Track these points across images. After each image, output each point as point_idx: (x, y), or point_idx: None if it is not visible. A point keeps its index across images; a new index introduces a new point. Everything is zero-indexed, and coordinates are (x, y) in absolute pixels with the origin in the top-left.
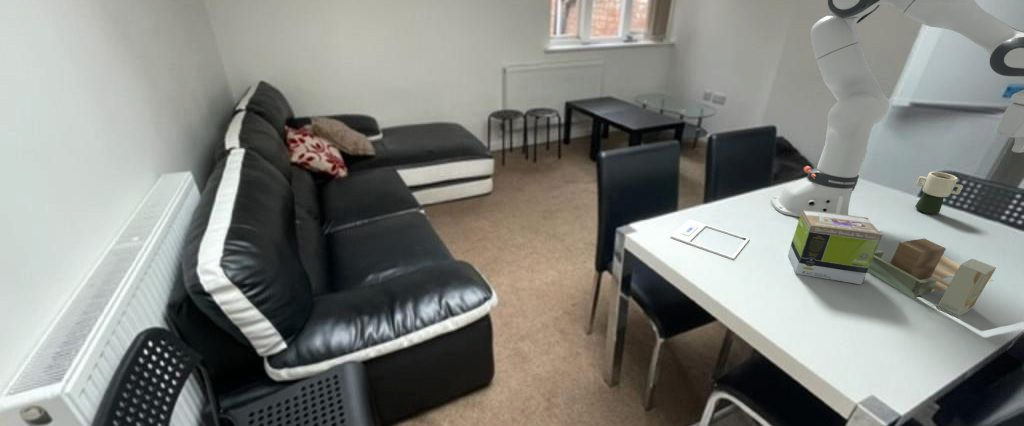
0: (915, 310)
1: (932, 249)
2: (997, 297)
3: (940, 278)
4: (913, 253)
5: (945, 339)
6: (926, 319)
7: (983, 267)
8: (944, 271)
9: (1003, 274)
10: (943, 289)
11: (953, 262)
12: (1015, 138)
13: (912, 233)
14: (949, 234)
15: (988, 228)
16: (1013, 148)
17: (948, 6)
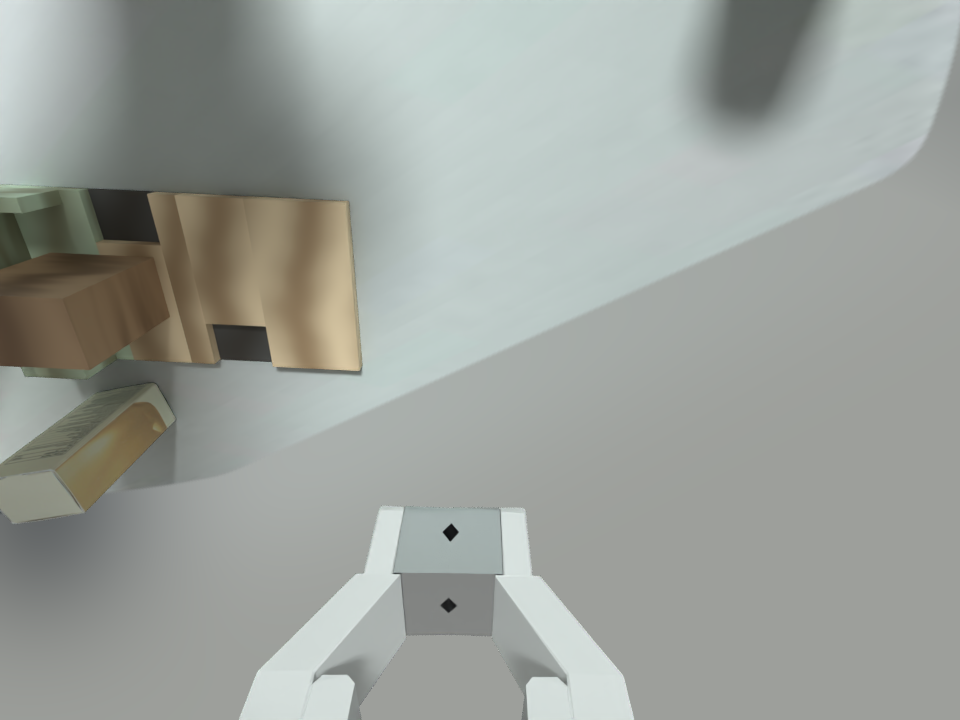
0: (37, 383)
1: (29, 362)
2: (307, 405)
3: (205, 324)
4: None
5: None
6: (40, 410)
7: (38, 506)
8: (255, 302)
9: (452, 347)
10: (165, 361)
11: (340, 275)
12: (267, 666)
13: (446, 33)
14: (602, 96)
15: (846, 107)
16: (377, 531)
17: None
